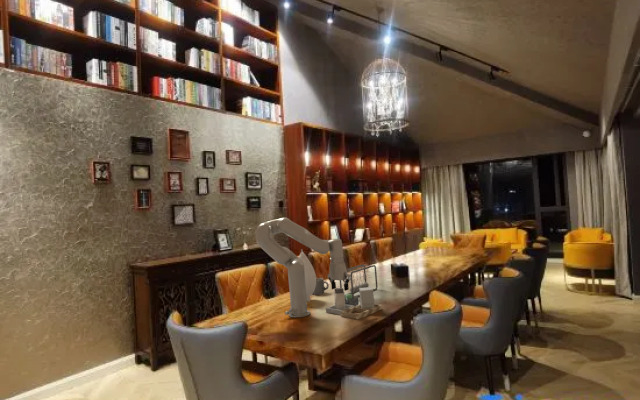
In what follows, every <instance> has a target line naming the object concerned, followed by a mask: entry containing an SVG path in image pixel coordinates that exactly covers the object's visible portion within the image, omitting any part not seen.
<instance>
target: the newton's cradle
mask: <svg viewBox="0 0 640 400" xmlns="http://www.w3.org/2000/svg"><path fill="white" fill-rule="evenodd" d="M371 268H374V279H375V281H374V282H375V288H372V289H373V292H375V291H377V290H378V275H377V274H378V273H377V272H378V271H377V266H376V264H373V265H372V264H371V265H369V264H367V265H366V264H359V265H356V266H353V267H349V268H346V270H347V272H350V273H348V274H349V275H350V276H351V278H350V286H351V287H350V288H349V291H350V292H348V293H346V294H352V296H354V294H356V293H358V292H359V288H367V287H370V286H369V285H370V284H369V283H368V282H367V276H368V275H367V270H368V269H371ZM362 271H363V273H362ZM358 273H359V279H362V278H361V277H362V276H361V274H363V280H360V282H356V283H355V279H353V278H355V275H356V276H358ZM354 274H355V275H354ZM359 279H358V278H356V281H359ZM363 281H364V282H363ZM342 284H343V283H342V280H341V281H340V280H339V288H343V286H342ZM354 284H355V285H354ZM346 294H345V293H344V295H346ZM355 297H358V298H360V294H358V295H356V296H355Z"/></svg>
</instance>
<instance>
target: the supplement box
mask: <svg viewBox="0 0 640 400" xmlns="http://www.w3.org/2000/svg"><path fill="white" fill-rule="evenodd" d="M373 289H374V288H373V287H371V286H368V287H367V288H359V291H358V292H359V293H358V294H359V295H360V297H359V303H360V304H359V305H360V306H361V308H365V309H371V308H374V307H375V306H374V304H375V295H374V294H375V293H374V291H373Z"/></svg>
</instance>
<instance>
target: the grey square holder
mask: <svg viewBox="0 0 640 400" xmlns="http://www.w3.org/2000/svg"><path fill="white" fill-rule="evenodd" d="M359 303H360V302H359V297H355V296H352V298H351V299H346V296H345V304H346V305H353V306H357V305H360V304H359Z"/></svg>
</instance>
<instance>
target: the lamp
mask: <svg viewBox="0 0 640 400" xmlns="http://www.w3.org/2000/svg"><path fill="white" fill-rule="evenodd" d="M298 257H299V258H300V259H301V260H302V261H303V263H304V269H305V285H306V299H307V302H310V301H311V300H312V299H311V296H312V293H313V292H314V290H315V287H316V278H317V275H316V272H315V269H314V266H313V265H312V263H311V261H310V260H309V258H308V256H307V255H306V254H305V252H304V251H303V250H301V252H300V254H299V256H298Z"/></svg>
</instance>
